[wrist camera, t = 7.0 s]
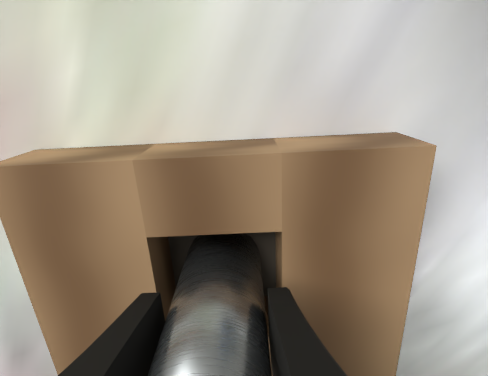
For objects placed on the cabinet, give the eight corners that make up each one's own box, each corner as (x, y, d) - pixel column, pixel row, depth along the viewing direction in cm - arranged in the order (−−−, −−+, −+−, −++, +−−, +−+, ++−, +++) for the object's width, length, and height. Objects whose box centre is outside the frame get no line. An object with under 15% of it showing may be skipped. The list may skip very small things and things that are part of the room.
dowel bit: (255, 221, 12) (276, 442, 5) (263, 284, 13) (290, 543, 6) (180, 230, 12) (86, 458, 5) (194, 291, 14) (134, 554, 6)
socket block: (396, 132, 11) (436, 145, 9) (370, 332, 15) (394, 381, 12) (35, 149, 11) (-19, 167, 9) (92, 343, 15) (64, 392, 12)
